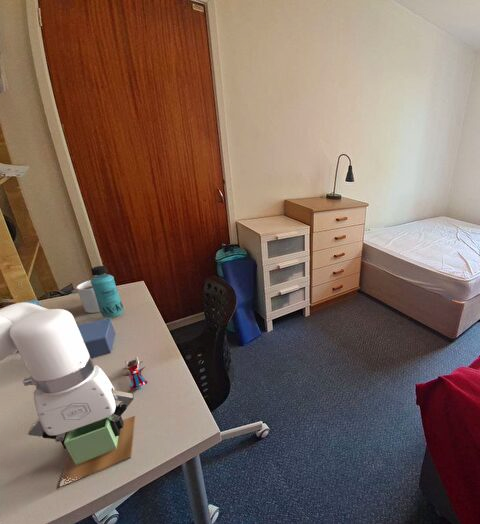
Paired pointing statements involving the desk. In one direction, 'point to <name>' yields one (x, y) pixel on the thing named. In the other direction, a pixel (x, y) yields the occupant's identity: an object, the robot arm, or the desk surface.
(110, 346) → the blue block
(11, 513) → the desk surface
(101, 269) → the beverage bottle
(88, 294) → the mug
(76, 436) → the green tub
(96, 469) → the cork mat
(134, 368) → the toy action figure
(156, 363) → the desk surface
